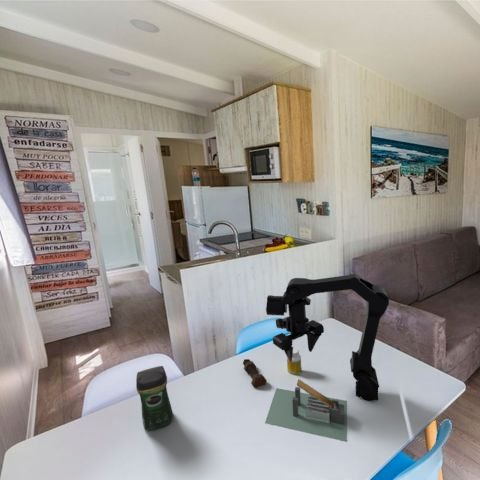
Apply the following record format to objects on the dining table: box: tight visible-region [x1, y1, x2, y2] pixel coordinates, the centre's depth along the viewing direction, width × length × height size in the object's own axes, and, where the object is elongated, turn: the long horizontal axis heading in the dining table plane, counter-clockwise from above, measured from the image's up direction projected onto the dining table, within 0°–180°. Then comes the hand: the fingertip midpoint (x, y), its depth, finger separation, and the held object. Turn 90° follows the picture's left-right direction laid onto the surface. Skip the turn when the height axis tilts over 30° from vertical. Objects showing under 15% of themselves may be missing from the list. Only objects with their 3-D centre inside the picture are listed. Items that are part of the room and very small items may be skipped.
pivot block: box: [331, 400, 344, 425], centre depth 90 cm, size 4×4×4 cm
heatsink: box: [306, 395, 331, 425], centre depth 93 cm, size 7×7×3 cm
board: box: [264, 387, 348, 442], centre depth 94 cm, size 24×16×1 cm, turn 70°
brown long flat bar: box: [296, 379, 337, 409], centre depth 92 cm, size 14×3×1 cm
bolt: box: [242, 358, 267, 389], centre depth 114 cm, size 6×5×15 cm
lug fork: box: [292, 386, 301, 417], centre depth 95 cm, size 2×6×6 cm, turn 160°
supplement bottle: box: [286, 347, 302, 376], centre depth 114 cm, size 5×5×10 cm
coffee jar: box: [135, 365, 174, 432], centre depth 95 cm, size 10×8×19 cm
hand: (300, 356), depth 103 cm, fingers open, 9 cm apart
